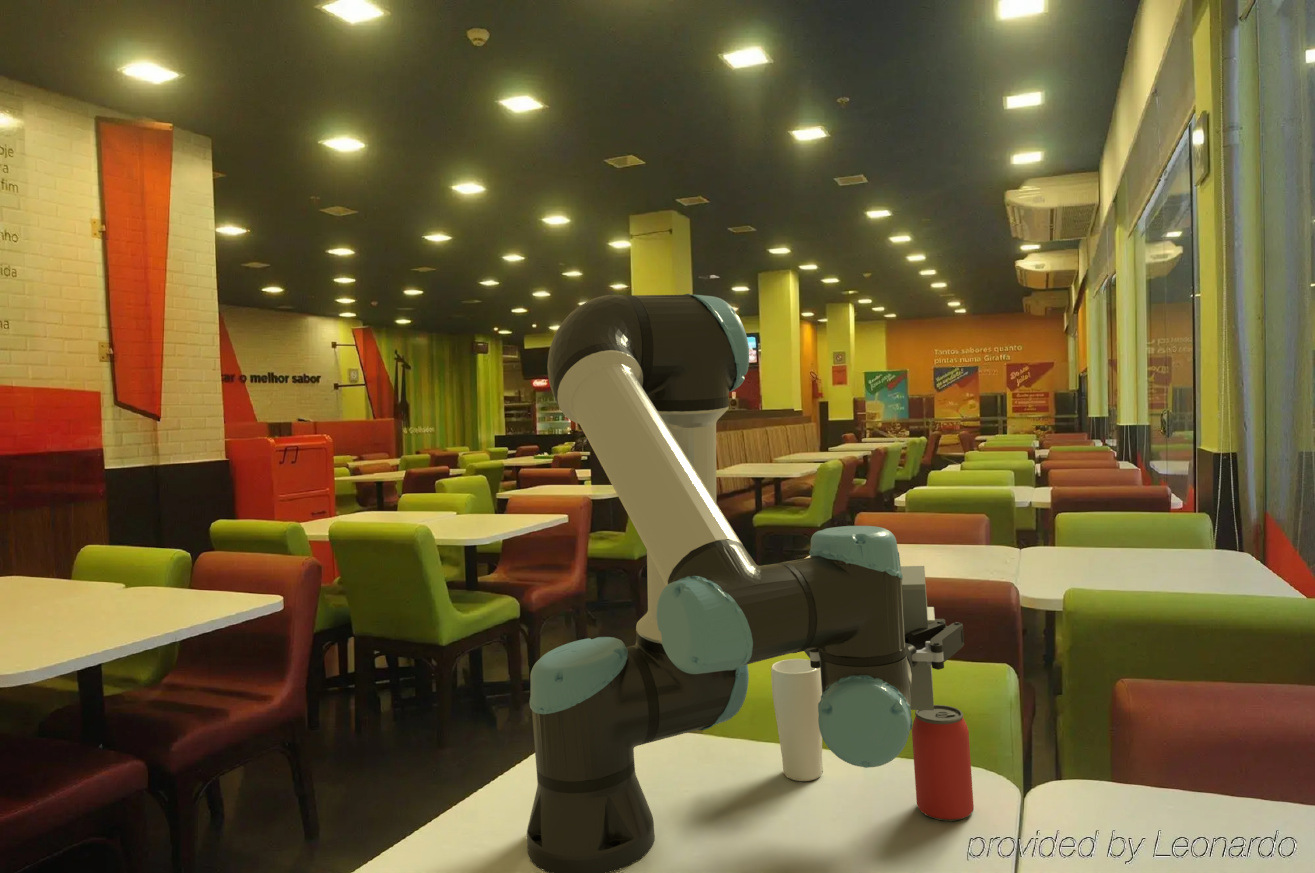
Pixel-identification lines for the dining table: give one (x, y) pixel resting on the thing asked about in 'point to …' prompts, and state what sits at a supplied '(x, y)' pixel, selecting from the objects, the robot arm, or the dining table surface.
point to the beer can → (942, 763)
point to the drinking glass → (798, 717)
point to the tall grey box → (914, 619)
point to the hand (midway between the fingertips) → (881, 618)
